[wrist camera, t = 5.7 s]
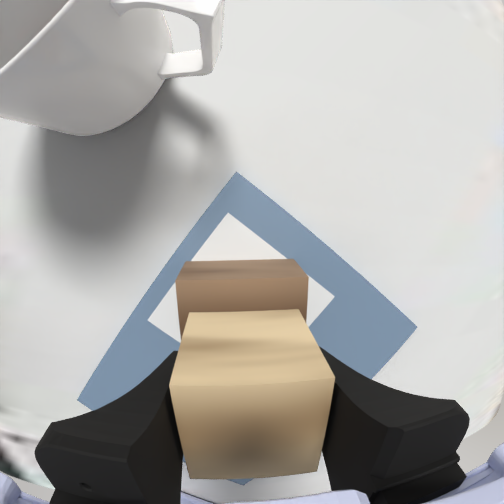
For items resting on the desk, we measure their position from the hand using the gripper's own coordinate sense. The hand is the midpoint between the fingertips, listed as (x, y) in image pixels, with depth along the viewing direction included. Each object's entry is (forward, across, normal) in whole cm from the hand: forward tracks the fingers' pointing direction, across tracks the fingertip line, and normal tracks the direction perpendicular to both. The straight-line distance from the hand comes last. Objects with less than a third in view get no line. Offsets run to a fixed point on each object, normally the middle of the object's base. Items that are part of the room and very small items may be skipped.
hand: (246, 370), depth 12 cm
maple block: (+1, 0, 0) cm, 1 cm away
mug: (+7, +6, -14) cm, 17 cm away
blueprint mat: (+7, 0, +5) cm, 8 cm away
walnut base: (+6, 0, 0) cm, 6 cm away
